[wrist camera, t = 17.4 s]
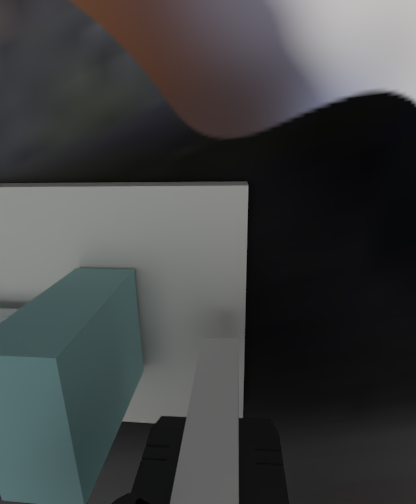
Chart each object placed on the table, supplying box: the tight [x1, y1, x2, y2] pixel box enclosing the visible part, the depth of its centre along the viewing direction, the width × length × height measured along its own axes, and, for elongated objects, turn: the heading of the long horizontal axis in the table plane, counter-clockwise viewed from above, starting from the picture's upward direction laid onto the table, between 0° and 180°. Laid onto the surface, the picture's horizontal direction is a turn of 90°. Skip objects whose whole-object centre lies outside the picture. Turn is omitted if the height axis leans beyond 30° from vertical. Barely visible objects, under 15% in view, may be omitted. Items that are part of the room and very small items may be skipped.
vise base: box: [0, 181, 248, 423], centre depth 17 cm, size 26×14×6 cm, turn 91°
